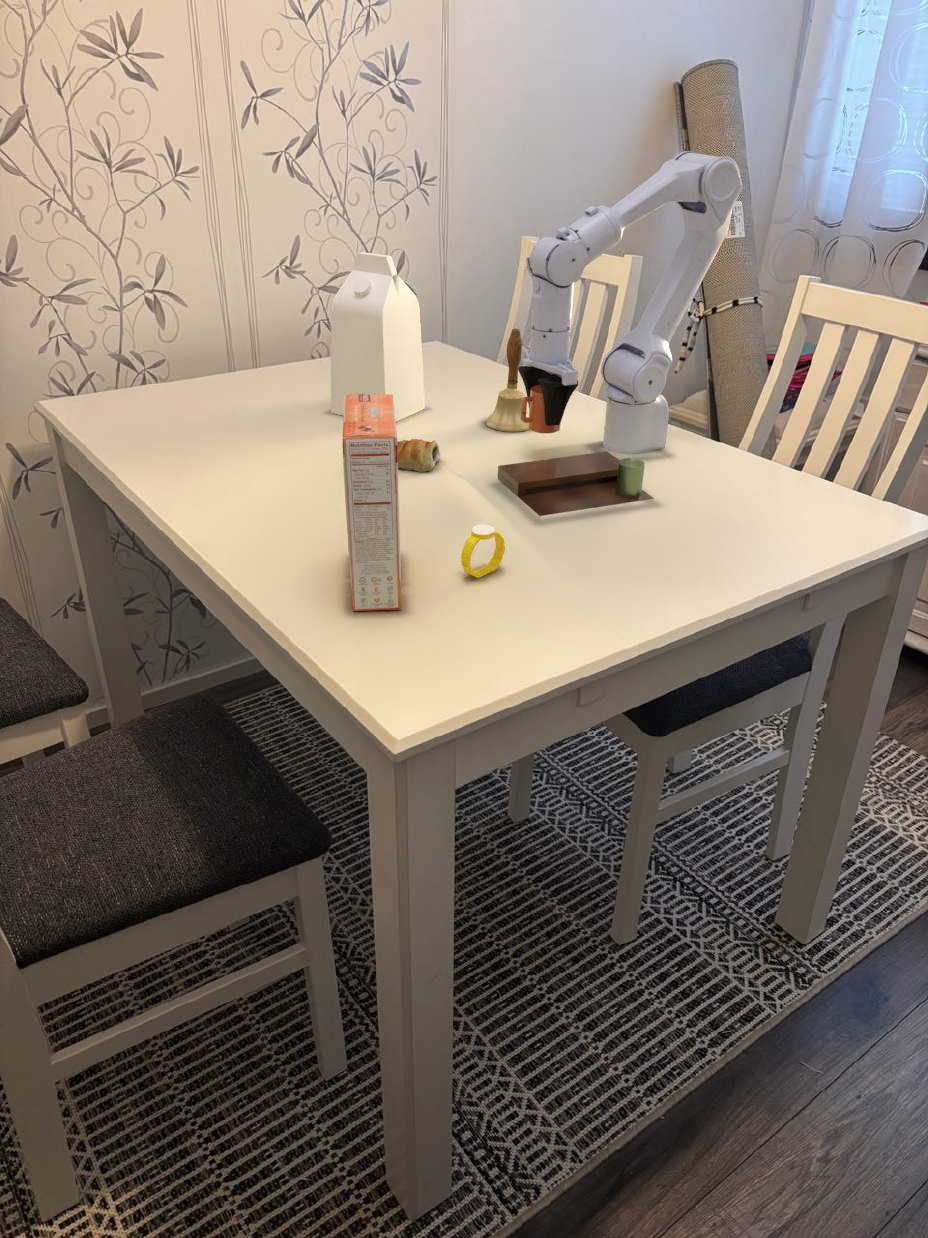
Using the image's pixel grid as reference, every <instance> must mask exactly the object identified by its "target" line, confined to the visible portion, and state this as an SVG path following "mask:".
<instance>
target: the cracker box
mask: <svg viewBox="0 0 928 1238" xmlns="http://www.w3.org/2000/svg"><path fill="white" fill-rule="evenodd" d="M397 441H398V431H397V422H396V419H395V409H394V399H393V394H380V395H367V394H352V395H345V403H344V416H343V423H342V460H343V461H342V464H343V480H344V481H343V486H344V502H345V518H346V519H345V520H346V534H347V549H348V564H349V578H350V591H351V592H350V593H351V604H352V611H353V612H363V611H364V612H365V611H369V612H370V611H391V610H392V611H395V610H396V611H397V610H402V609H403V608H402V607H403V605H402V565H401V562H402V561H401V559H402V558H401V528H400V525H401V524H400V523H401V522H400V489H399V488H400V487H399V468H398V448H397Z"/></svg>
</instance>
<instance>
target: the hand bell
mask: <svg viewBox="0 0 928 1238" xmlns="http://www.w3.org/2000/svg"><path fill="white" fill-rule="evenodd" d="M523 345H524V343H523V339H522V336H521V330H520V329H519V328H512V329H511V332H510V335H509V338H508V340H507V346H506V359H507V364H508V374H507V383H506V388H505V389H502V390H500V391H499V392H498V395H497V401H496V405H495V408H494V410H493V411H492V413H491V414H490V415H489V416H488V417H487V418H486V420H485V424H486V426H487V427H489V428H491V429H493V430H495V431H501V432H509V433H515V432H517V433H519V432H526V431H529V430H530V429H529V428H528V425H529V423H524V422H522V421H521V402H522V399H524V397H526V395H525V394H526V393H524V391H521V390H520V389H519V388H518V383H519V382H518V381H519V370H518V369H519V367H520V363H521V362H522V359H521V352H522V346H523ZM527 417H529V412H528V409H527V410H526V418H527Z"/></svg>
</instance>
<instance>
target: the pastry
mask: <svg viewBox="0 0 928 1238" xmlns="http://www.w3.org/2000/svg"><path fill="white" fill-rule="evenodd" d="M397 448H398V469H402V470H407V471H412V470H413V471H416V472H421V473H422V472H430V471H432V470H433V469H434V468H435V465H436V462H438V461H439V460H440V458H441V453H440V446H439V444H438V442H437V441H436V440H432V441H427V440H424V439H418V438H411V439H410V440H407V439H402V440H399V441H398V440H397Z"/></svg>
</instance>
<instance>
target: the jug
mask: <svg viewBox="0 0 928 1238" xmlns="http://www.w3.org/2000/svg"><path fill="white" fill-rule="evenodd" d="M528 402H530V408H529V407H527V406H528ZM527 408H528V409H529V410H528V409H527ZM526 410H527V411H528V415H529V417H527V418H526ZM521 421H522V422H524V423H529V425H528V428H529V430H530V431H531V432H533V433H538V434H554V433H558V432H559V431H560V430H561V424H560V425H554V426H547V425H546V423H545V414H544V398H543V393H542V390H541V387H540V385H536V386H533V387H531V390H530V396H529V397H527V396H525V397H524V399H522V402H521Z"/></svg>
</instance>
